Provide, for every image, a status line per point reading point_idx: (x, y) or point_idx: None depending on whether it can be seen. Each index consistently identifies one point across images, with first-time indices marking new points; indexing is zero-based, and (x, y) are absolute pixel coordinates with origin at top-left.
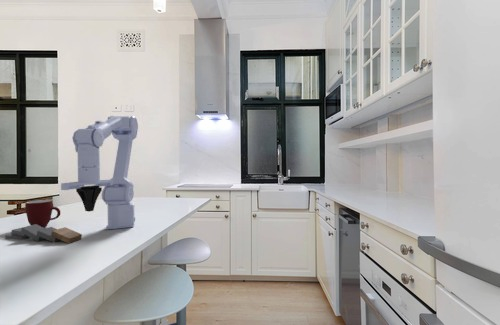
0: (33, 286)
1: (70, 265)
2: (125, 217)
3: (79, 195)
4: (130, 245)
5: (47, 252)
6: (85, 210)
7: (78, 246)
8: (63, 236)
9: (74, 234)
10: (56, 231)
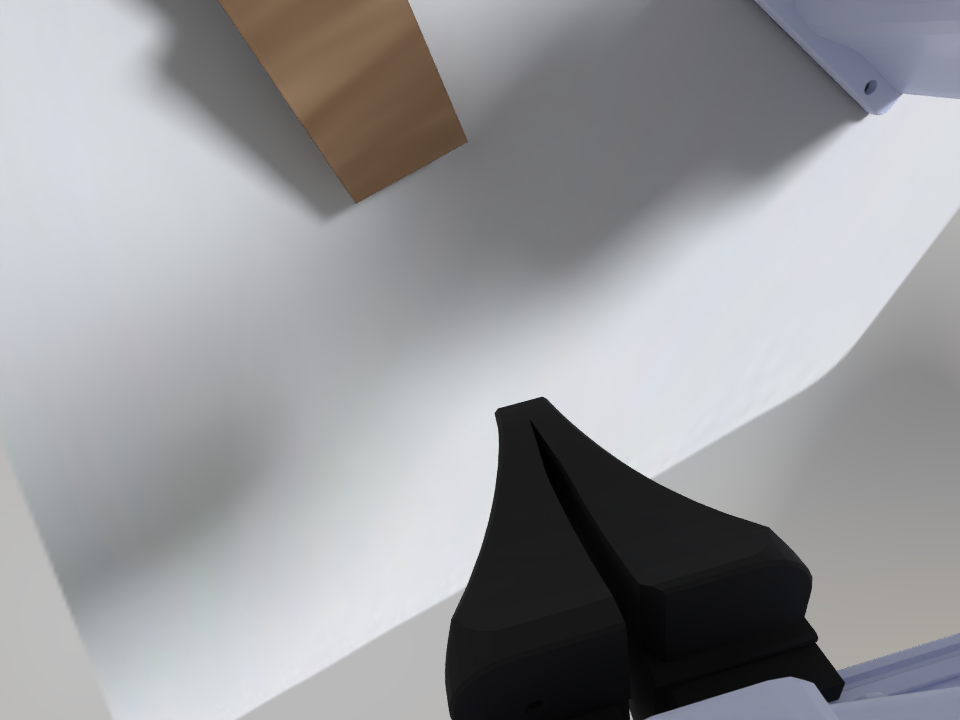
0: (169, 645)
1: (295, 556)
2: (941, 59)
3: (478, 566)
4: None
5: (202, 297)
6: (496, 417)
7: (387, 315)
8: (314, 142)
9: (408, 131)
10: (254, 14)
